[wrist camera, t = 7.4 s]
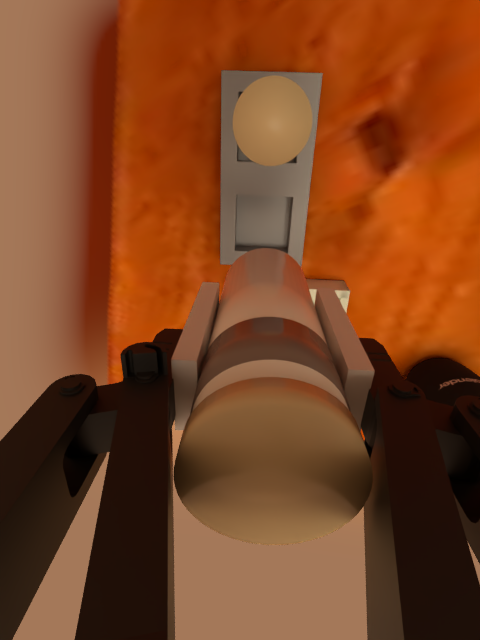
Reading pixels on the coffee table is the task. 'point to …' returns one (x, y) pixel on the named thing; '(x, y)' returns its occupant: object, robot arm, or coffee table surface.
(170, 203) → the coffee table surface
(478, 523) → the robot arm
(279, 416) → the fuse
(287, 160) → the block
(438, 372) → the mug
